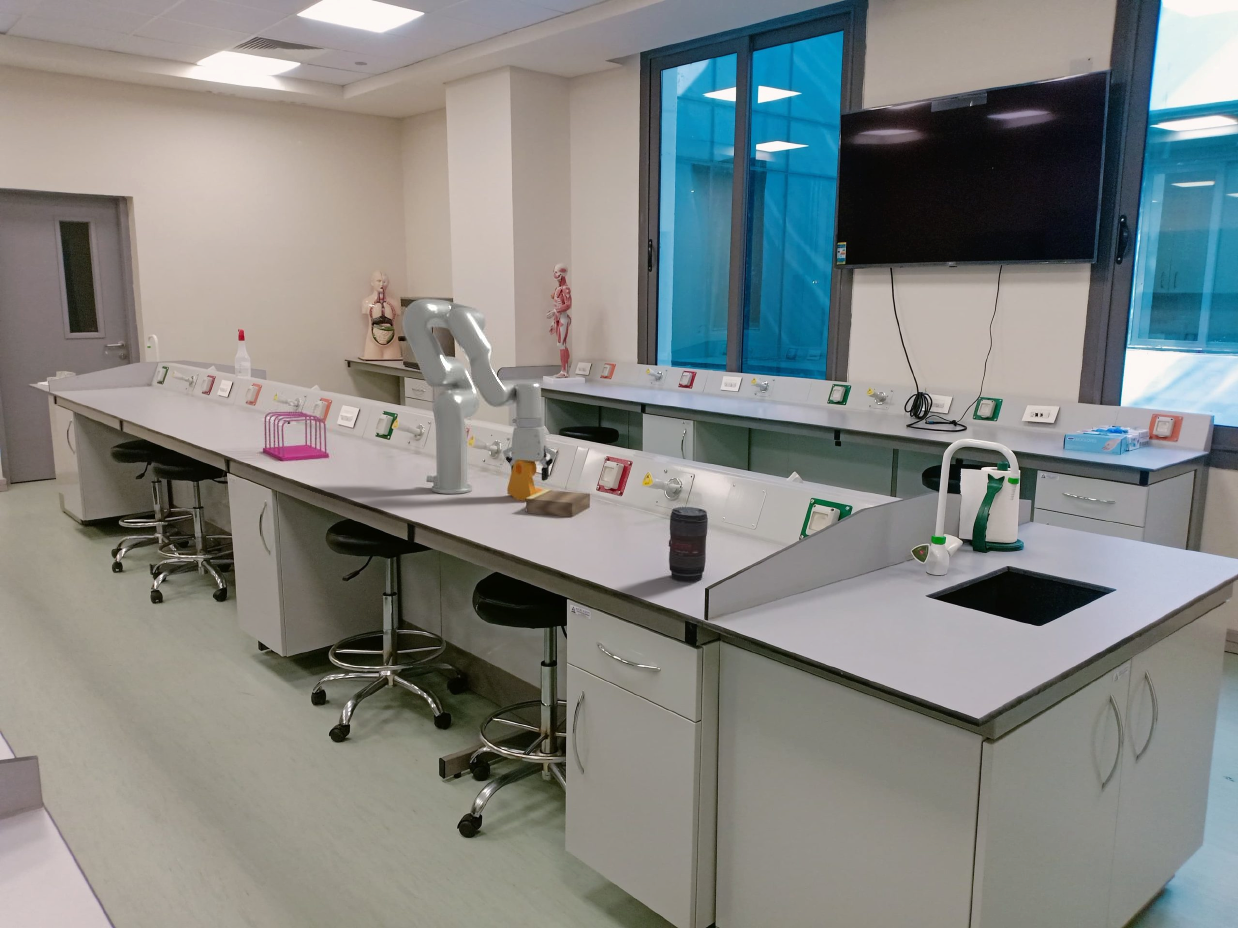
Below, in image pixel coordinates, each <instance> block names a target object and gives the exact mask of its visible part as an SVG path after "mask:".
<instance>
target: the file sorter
mask: <svg viewBox="0 0 1238 928" xmlns="http://www.w3.org/2000/svg"><path fill="white" fill-rule="evenodd" d="M270 414H272V415H270ZM269 415H270V416H269ZM268 416H269V418H268V439H267V417H268ZM274 416H275V417H274ZM273 417H274V419H273V446H272V441H271V440H272V439H271V438H272V437H271V433H272V432H271V420H272V418H273ZM278 418H279V419H278ZM277 419H278V420H277ZM284 419H285V421H283V422H282V424H281V446H280V428H279V427H280V425H279V424H280V421H282V420H284ZM286 419H287V420H286ZM276 420H277V422H276ZM300 421H301V422H302V421H304V424H305V425H304V426H305V427H304V428H305V433H304V435H305V436H304V437H305V440H304V441H305V442H304V443H305V444H300V445H285V441H284V439H285V437H284V426H285V424H287V423H288V422H289V423H290V422H300ZM308 421H309V444H308ZM312 421H314V425H315V426H314V430H315V431H314V433H315V434H314V446H313V444H312V443H313V442H312V438H313V435H312V432H313V431H312V427H313V426H312V425H313V424H312ZM321 422H322V423H323V433H324V434H323V436H324V437H323V438H324V441H323V442H324V450H322V424H321ZM326 427H327V426H326V422H325V420H323V419H322V418H320V417H318V416H317V415H312V414H308V413H306V412H303V411H269V412H268V413H267V414H266V415H265V416H264V447H262V452H263V453H265V454H266V455H269V456H271V457H273V458H274V459H277V460H279V461H280V462H288V461H290V462H291V461H299V460H300V461H301V460H314V459H327V458H330V456H329V455H330V453H329V452H327V428H326ZM318 428H319V429H318ZM317 432H319V433H317ZM276 434H277V446H276ZM317 435H318V436H317ZM318 438H319V448H318V447H317V445H318V443H317V442H318V441H317V440H318ZM267 440H268V443H267ZM267 444H268V445H267ZM268 446H269V447H268Z"/></svg>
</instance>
